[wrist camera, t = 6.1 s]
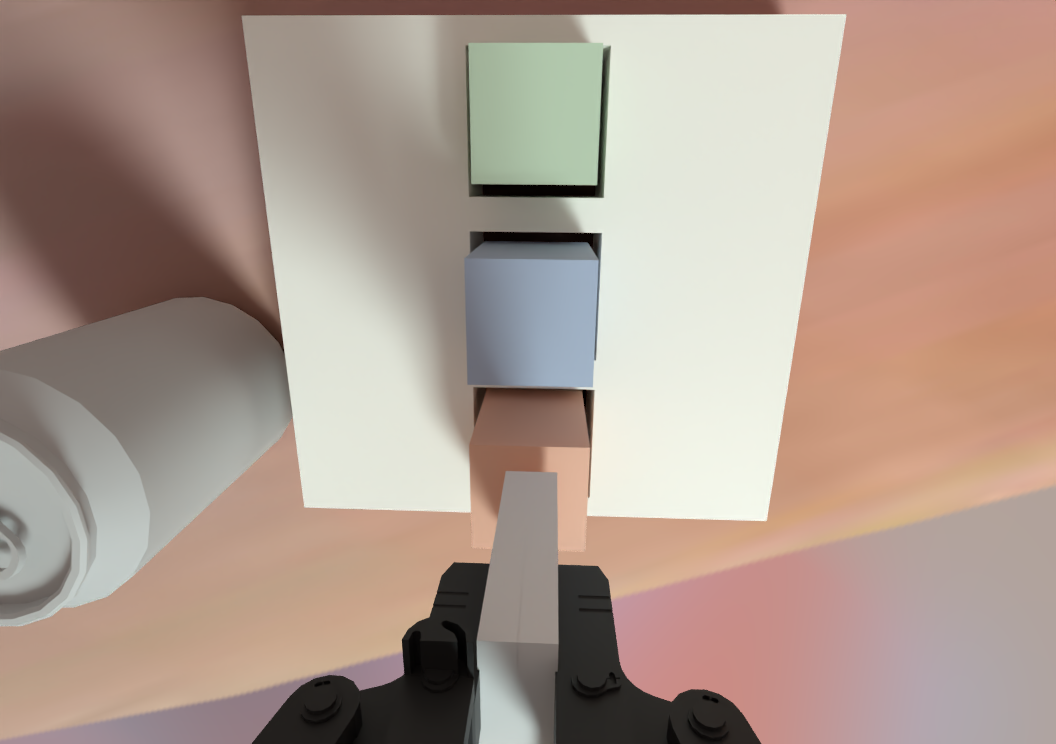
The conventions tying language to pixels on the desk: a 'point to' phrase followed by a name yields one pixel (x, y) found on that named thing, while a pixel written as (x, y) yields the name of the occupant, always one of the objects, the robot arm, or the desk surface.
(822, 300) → the desk surface
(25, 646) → the desk surface
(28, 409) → the can
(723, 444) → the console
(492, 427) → the terracotta button
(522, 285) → the slate button
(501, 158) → the sage button
